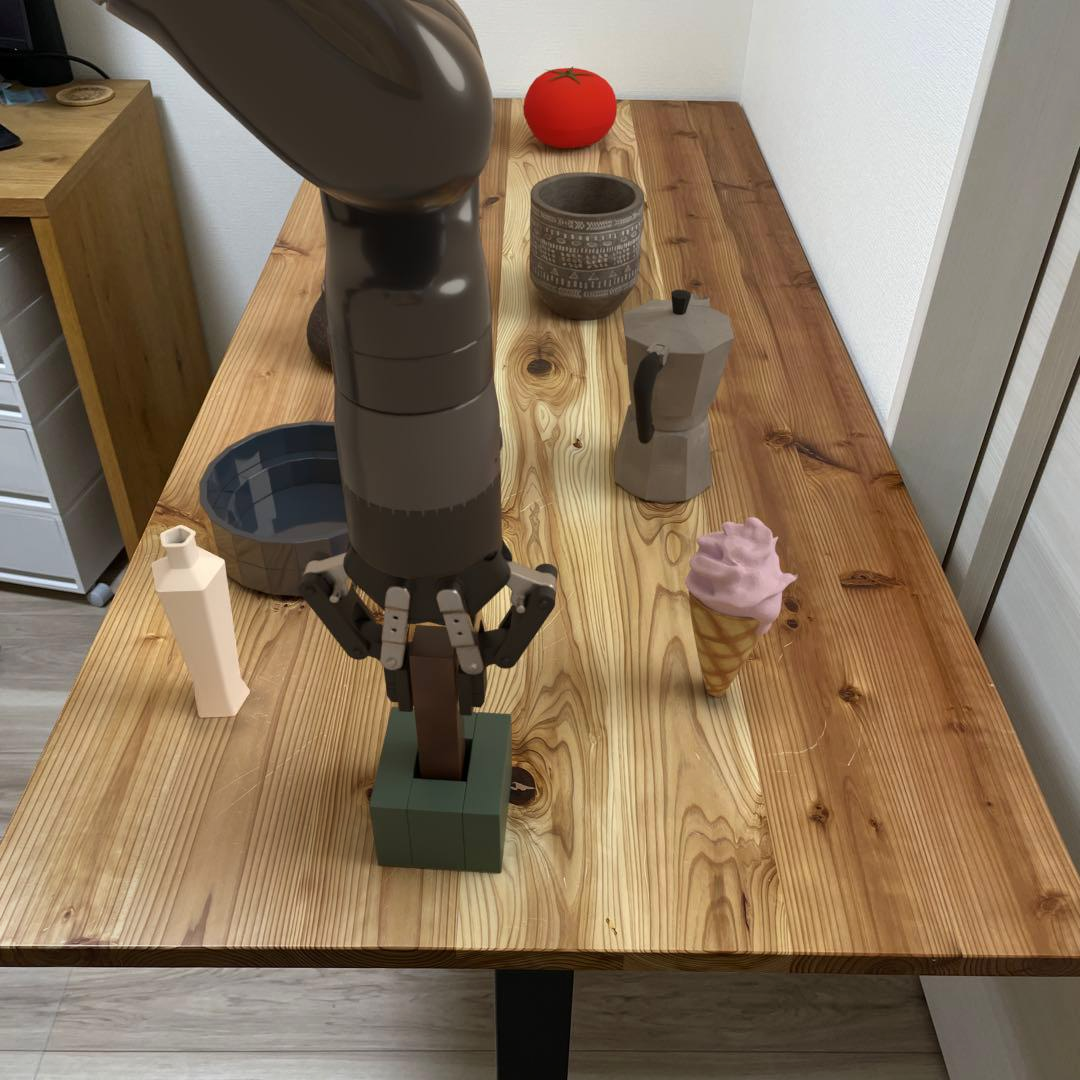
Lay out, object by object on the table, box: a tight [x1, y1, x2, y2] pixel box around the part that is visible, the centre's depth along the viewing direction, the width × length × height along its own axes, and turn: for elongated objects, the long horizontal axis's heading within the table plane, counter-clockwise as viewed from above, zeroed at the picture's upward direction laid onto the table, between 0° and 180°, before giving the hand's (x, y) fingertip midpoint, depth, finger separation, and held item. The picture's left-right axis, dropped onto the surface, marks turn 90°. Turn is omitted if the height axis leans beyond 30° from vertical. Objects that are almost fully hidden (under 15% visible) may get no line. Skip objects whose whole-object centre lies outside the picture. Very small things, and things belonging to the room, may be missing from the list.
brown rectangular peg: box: [409, 624, 467, 782], centre depth 63 cm, size 2×2×16 cm
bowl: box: [198, 420, 356, 597], centre depth 87 cm, size 16×16×6 cm
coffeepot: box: [613, 289, 735, 504], centre depth 90 cm, size 15×9×18 cm, turn 156°
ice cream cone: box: [685, 516, 799, 698], centre depth 72 cm, size 7×6×15 cm
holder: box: [368, 706, 513, 874], centre depth 66 cm, size 8×8×6 cm
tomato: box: [522, 66, 618, 149], centre depth 156 cm, size 14×13×10 cm
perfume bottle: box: [151, 524, 251, 719], centre depth 71 cm, size 5×4×15 cm
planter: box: [528, 171, 645, 321], centre depth 117 cm, size 12×12×13 cm
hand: (438, 701), depth 61 cm, fingers open, 3 cm apart
